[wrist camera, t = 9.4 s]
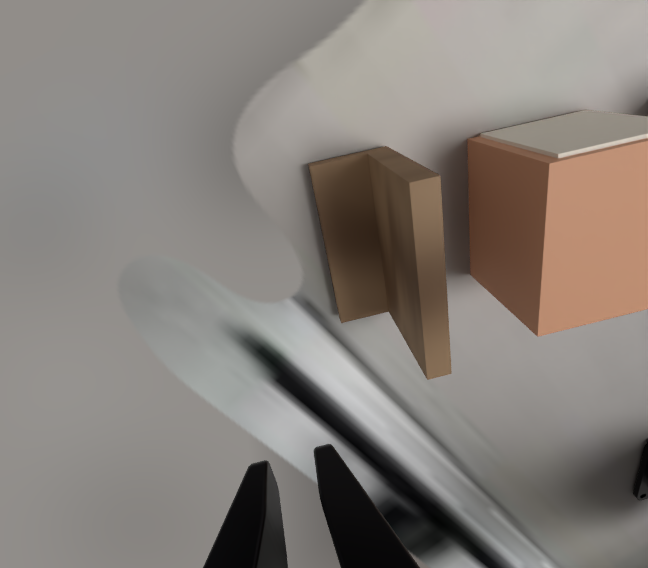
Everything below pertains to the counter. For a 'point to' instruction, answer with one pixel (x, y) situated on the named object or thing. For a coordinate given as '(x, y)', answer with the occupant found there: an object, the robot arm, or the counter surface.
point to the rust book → (562, 218)
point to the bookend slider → (387, 246)
